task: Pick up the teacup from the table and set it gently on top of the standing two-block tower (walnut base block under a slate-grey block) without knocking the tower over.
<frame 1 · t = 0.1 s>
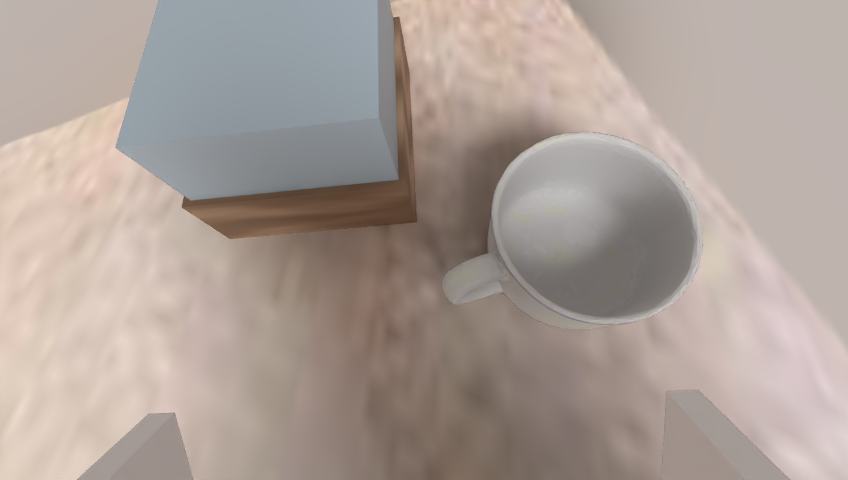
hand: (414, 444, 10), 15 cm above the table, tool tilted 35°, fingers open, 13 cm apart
top block: (299, 105, 28), point 6 cm above the table, touching base block
base block: (326, 152, 34), on the table, touching top block
teacup: (538, 270, 28), on the table
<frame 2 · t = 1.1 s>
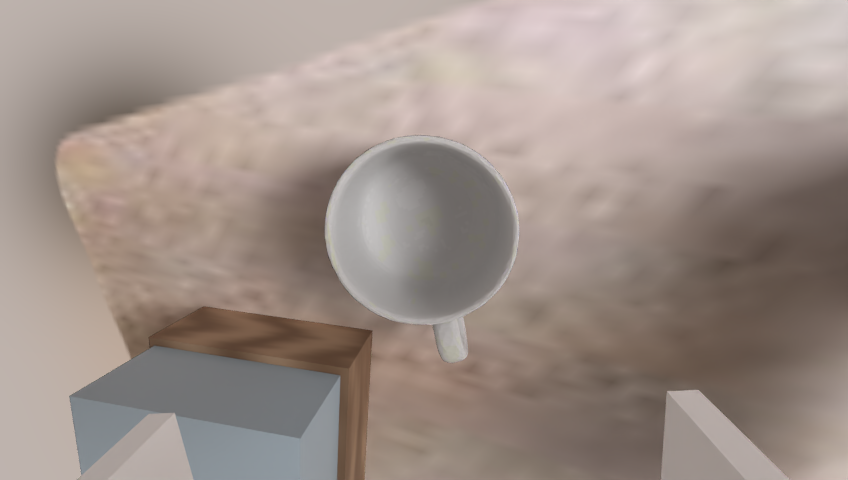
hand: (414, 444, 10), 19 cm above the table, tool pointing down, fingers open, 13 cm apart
top block: (247, 444, 29), point 6 cm above the table, touching base block
base block: (287, 394, 35), on the table, touching top block
teacup: (436, 234, 29), on the table
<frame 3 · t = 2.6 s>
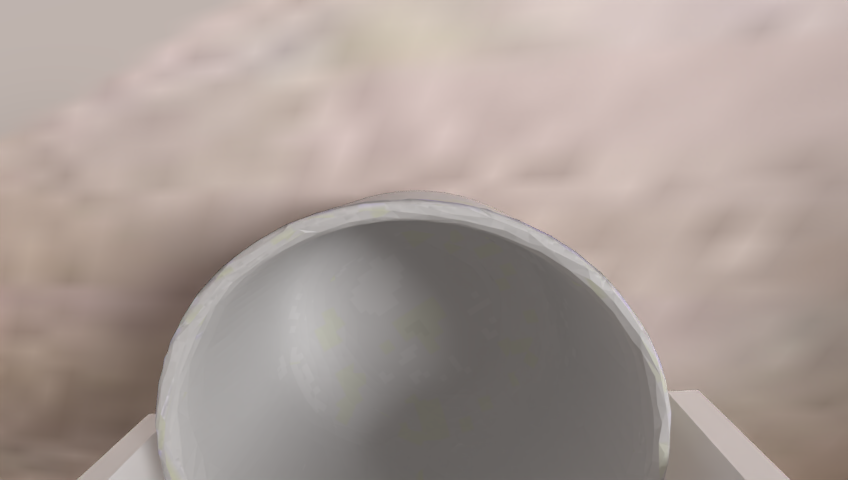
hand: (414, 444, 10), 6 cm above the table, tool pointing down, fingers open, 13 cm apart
teacup: (438, 339, 16), on the table
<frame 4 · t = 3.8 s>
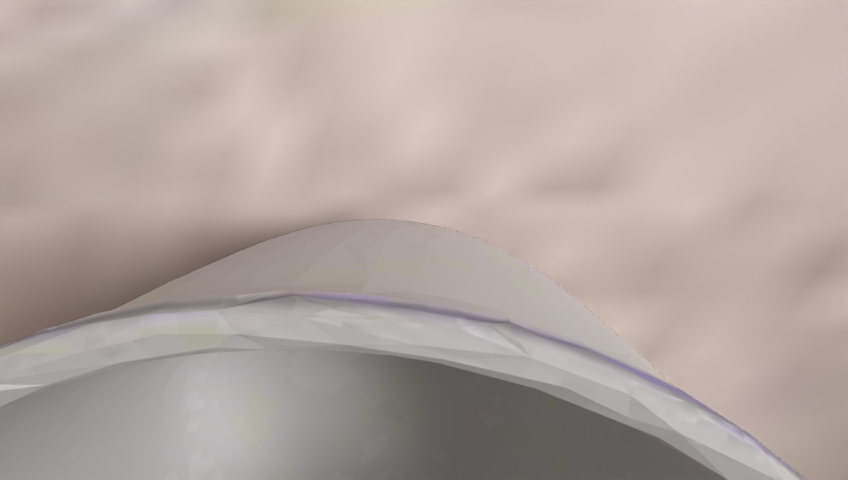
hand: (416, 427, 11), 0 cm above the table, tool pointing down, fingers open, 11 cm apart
teacup: (419, 417, 12), on the table, touching gripper
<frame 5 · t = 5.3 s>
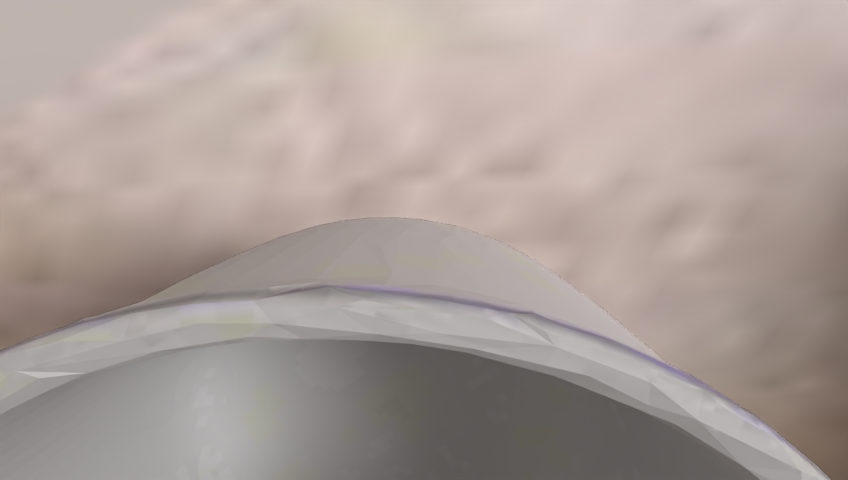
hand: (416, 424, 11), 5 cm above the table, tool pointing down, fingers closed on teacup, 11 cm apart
teacup: (425, 414, 12), point 5 cm above the table, touching gripper
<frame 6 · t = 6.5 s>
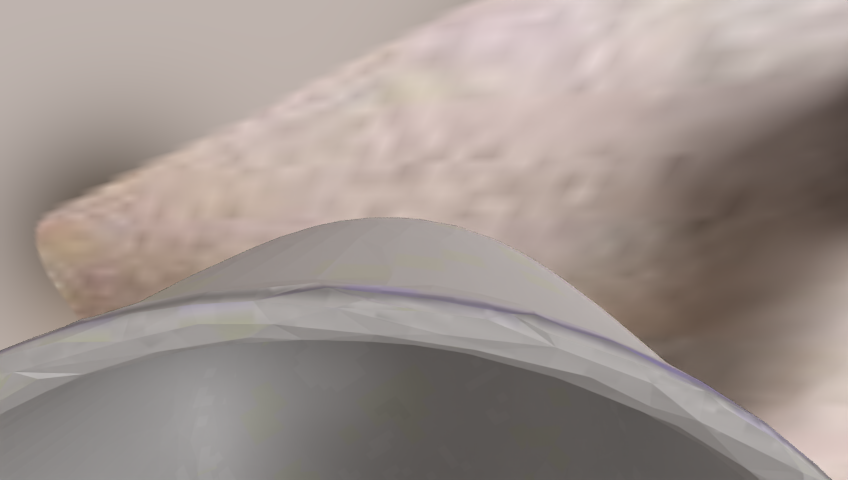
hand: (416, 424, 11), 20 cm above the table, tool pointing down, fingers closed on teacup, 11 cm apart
teacup: (425, 414, 12), point 19 cm above the table, touching gripper
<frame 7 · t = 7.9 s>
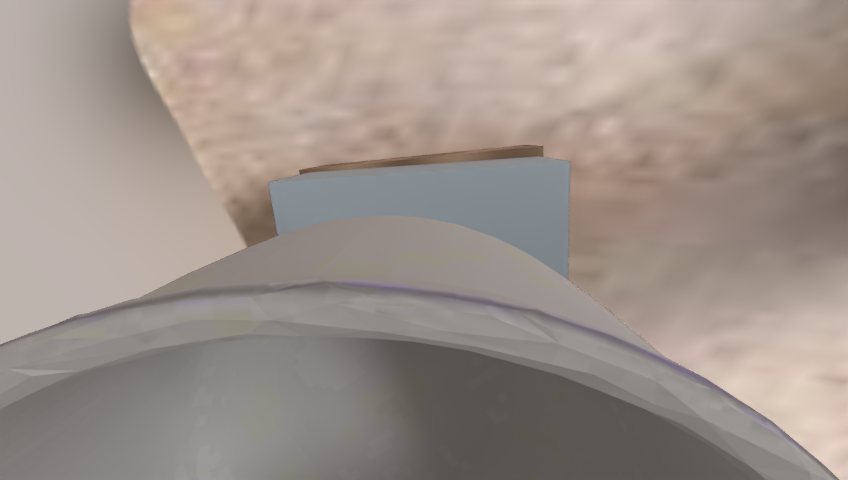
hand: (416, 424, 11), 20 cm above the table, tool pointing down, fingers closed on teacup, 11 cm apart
top block: (430, 272, 25), point 6 cm above the table
base block: (432, 249, 31), on the table
teacup: (424, 414, 12), point 20 cm above the table, touching gripper
when the fingers open (13 cm above the table, at t = 10.4 s): teacup drops 2 cm, resting on top block.
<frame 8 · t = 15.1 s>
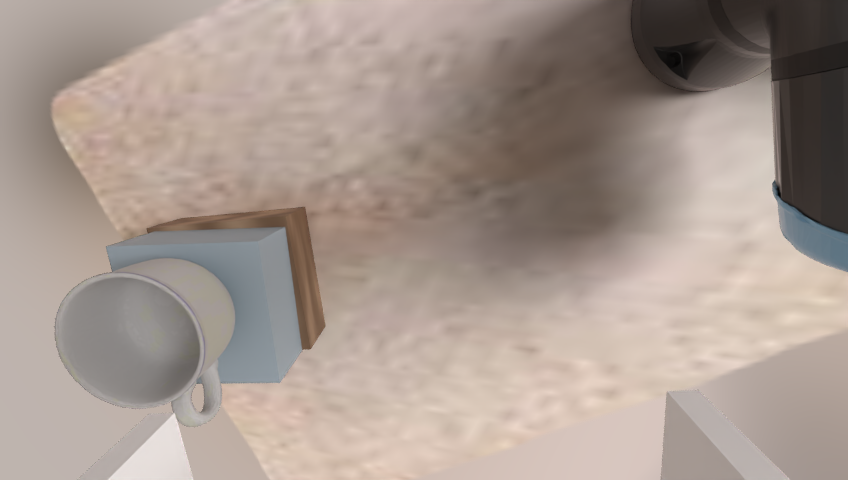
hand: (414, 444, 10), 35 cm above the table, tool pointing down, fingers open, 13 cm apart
top block: (230, 292, 42), point 5 cm above the table, touching base block, teacup
base block: (257, 272, 48), on the table, touching top block
teacup: (203, 316, 36), point 11 cm above the table, touching top block
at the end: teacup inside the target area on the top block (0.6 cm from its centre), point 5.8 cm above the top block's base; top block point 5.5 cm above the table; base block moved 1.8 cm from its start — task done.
